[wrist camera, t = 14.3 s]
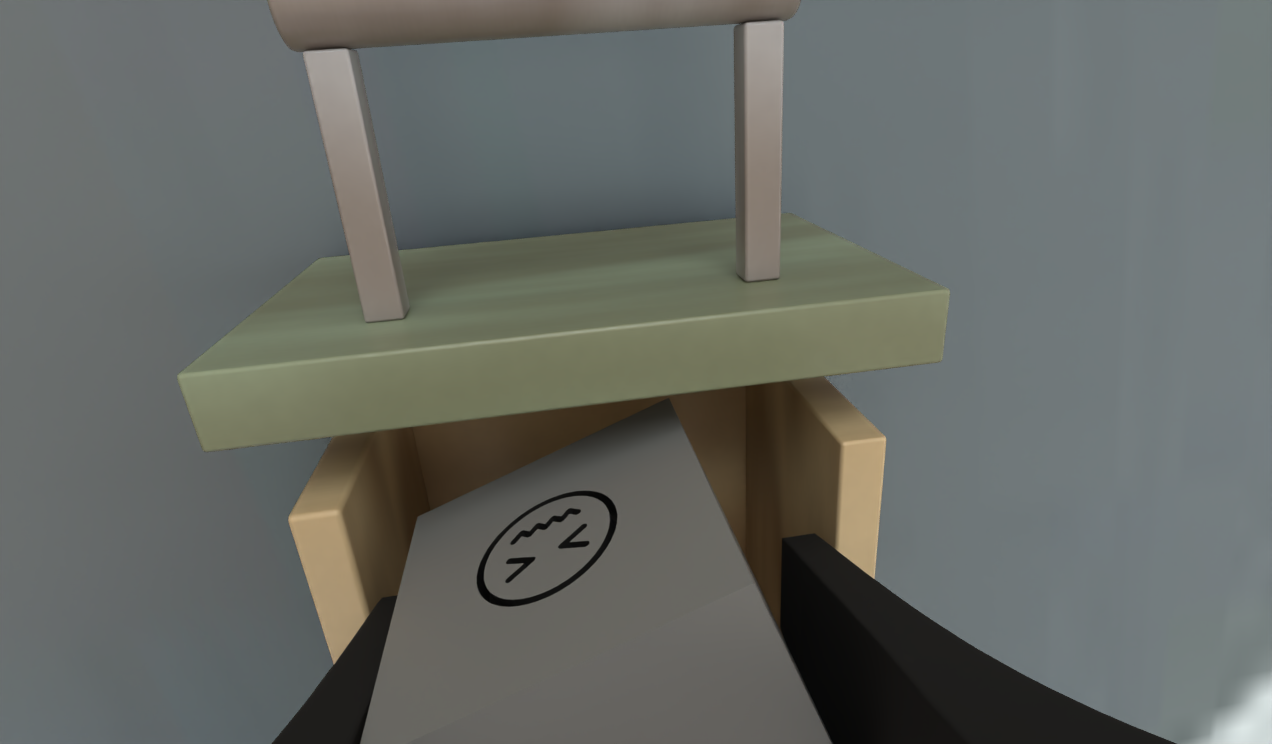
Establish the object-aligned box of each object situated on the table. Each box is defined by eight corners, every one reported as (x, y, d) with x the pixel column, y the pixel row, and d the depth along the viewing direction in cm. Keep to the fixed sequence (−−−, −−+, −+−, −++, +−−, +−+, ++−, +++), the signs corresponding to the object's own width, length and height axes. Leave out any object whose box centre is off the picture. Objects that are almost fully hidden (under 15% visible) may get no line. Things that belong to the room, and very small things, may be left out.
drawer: (253, 3, 13) (13, -71, 7) (796, -28, 14) (1000, -115, 8) (423, 677, 20) (376, 941, 14) (783, 619, 21) (888, 839, 15)
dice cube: (545, 692, 14) (554, 973, 10) (417, 516, 12) (354, 767, 8) (762, 592, 14) (873, 830, 10) (669, 397, 12) (753, 583, 8)
